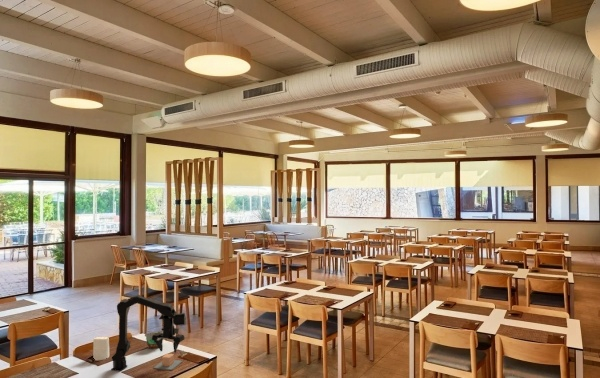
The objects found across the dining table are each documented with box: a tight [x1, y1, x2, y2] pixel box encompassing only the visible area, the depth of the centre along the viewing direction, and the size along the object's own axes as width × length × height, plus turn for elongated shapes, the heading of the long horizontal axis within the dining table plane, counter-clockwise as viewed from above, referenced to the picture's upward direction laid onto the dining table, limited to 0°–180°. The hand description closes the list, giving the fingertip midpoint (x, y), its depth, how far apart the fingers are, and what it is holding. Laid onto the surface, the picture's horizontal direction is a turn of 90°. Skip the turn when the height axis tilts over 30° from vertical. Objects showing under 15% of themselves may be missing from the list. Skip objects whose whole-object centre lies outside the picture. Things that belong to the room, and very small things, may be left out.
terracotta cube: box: [161, 353, 175, 366], centre depth 241 cm, size 5×5×5 cm
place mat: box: [153, 359, 184, 371], centre depth 241 cm, size 12×12×1 cm
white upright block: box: [92, 336, 110, 361], centre depth 254 cm, size 9×9×12 cm
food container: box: [144, 330, 164, 350], centre depth 268 cm, size 12×6×10 cm, turn 112°
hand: (168, 351), depth 241 cm, fingers open, 9 cm apart
